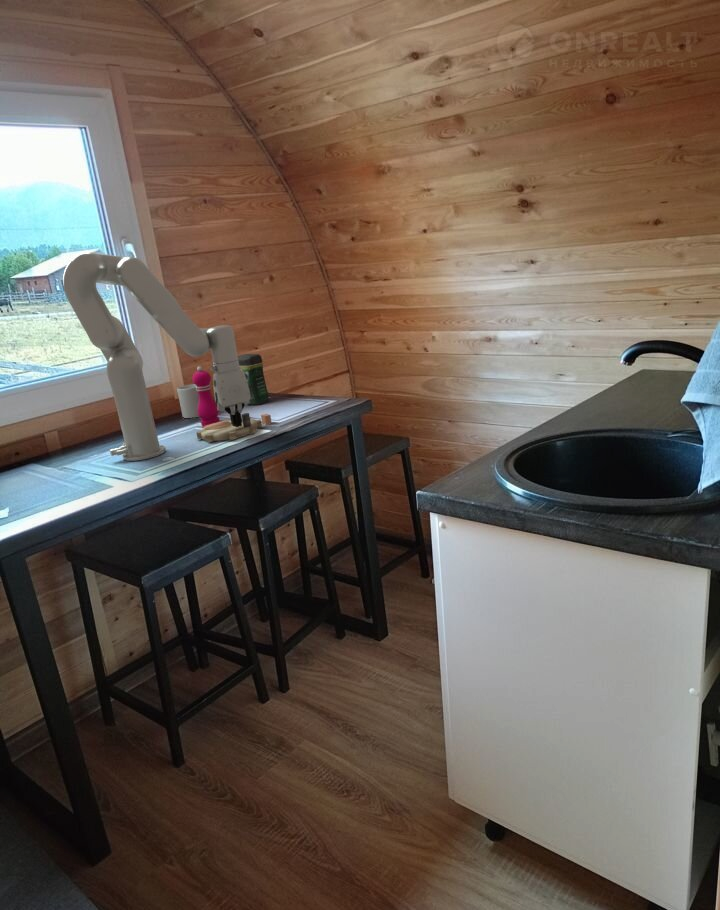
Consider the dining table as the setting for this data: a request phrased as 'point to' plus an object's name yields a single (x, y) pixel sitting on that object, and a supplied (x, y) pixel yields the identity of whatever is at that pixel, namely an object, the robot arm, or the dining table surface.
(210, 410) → the pepper mill
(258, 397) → the coffee jar
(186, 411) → the mug
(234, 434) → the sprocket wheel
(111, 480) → the dining table surface
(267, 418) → the index marker
